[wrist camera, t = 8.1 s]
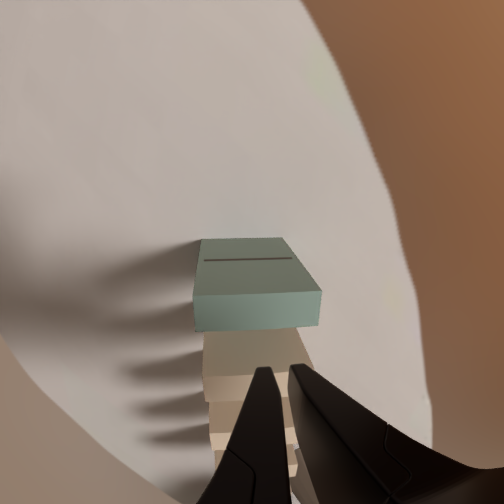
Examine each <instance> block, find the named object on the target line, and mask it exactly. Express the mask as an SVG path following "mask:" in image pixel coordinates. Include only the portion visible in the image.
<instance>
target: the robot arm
mask: <svg viewBox="0 0 504 504" xmlns="http://www.w3.org/2000/svg"><path fill="white" fill-rule="evenodd" d="M287 389H288V397H289V402H290V407H291V413H292V418H293V423H294V429H295V433H296V437H297V441H298V444H299V447H300V450H301V453H302V456H303V459H304V462H305V465H306V467H307V470H308V473H309V476H310V479H311V482H312V485H313V488H314V491H315V493H316V496H317V499H318V502H319V504H504V467H502V468H494V469H478V468H473V467H469V466H466V465H464V464H462V463H459V462H457V461H455V460H453V459H451V458H449V457H447V456H444V455H442V454H440V453H438V452H436V451H434V450H432V449H430V448H428V447H426V446H424V445H422V444H421V443H419V442H417V441H415V440H413V439H412V438H410V437H408V436H407V435H405V434H404V433H402V432H400V431H399V430H397V429H396V428H394V427H393V426H391V425H390V424H388V425H387V422H385V421H384V420H382V419H381V418H380V417H378V416H377V415H375V414H374V413H372V412H371V411H369V410H368V409H367V408H365V407H364V406H362V405H361V404H360V403H358V402H357V401H355V400H354V399H352V398H351V397H350V396H348V395H347V394H346V393H344V392H343V391H341V390H340V389H339V388H337V387H336V386H334V385H333V384H332V383H330V382H329V381H328V380H326V379H325V378H324V377H322V376H321V375H320V374H318V373H317V372H316V371H314V370H313V369H312V368H310V367H309V366H308V365H306V364H304V363H299V364H291V365H290V367H289V374H288V385H287ZM196 504H292V501H291V490H290V479H289V468H288V458H287V447H286V437H285V427H284V417H283V407H282V398H281V393H280V390H279V387H278V384H277V381H276V378H275V376H274V373H273V370H272V368H271V367H270V366H265V367H257V368H256V370H255V373H254V375H253V378H252V381H251V383H250V386H249V389H248V392H247V394H246V397H245V400H244V402H243V405H242V407H241V410H240V413H239V415H238V418H237V421H236V423H235V426H234V428H233V431H232V433H231V436H230V439H229V441H228V444H227V446H226V450H225V451H224V453H223V456H222V458H221V461H220V463H219V465H218V467H217V469H216V471H215V474H214V476H213V477H212V479H211V481H210V483H209V484H208V486H207V488H206V489H205V491H204V493H203V494H202V496H201V497H200V499H199V500H198V502H197V503H196Z"/></svg>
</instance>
